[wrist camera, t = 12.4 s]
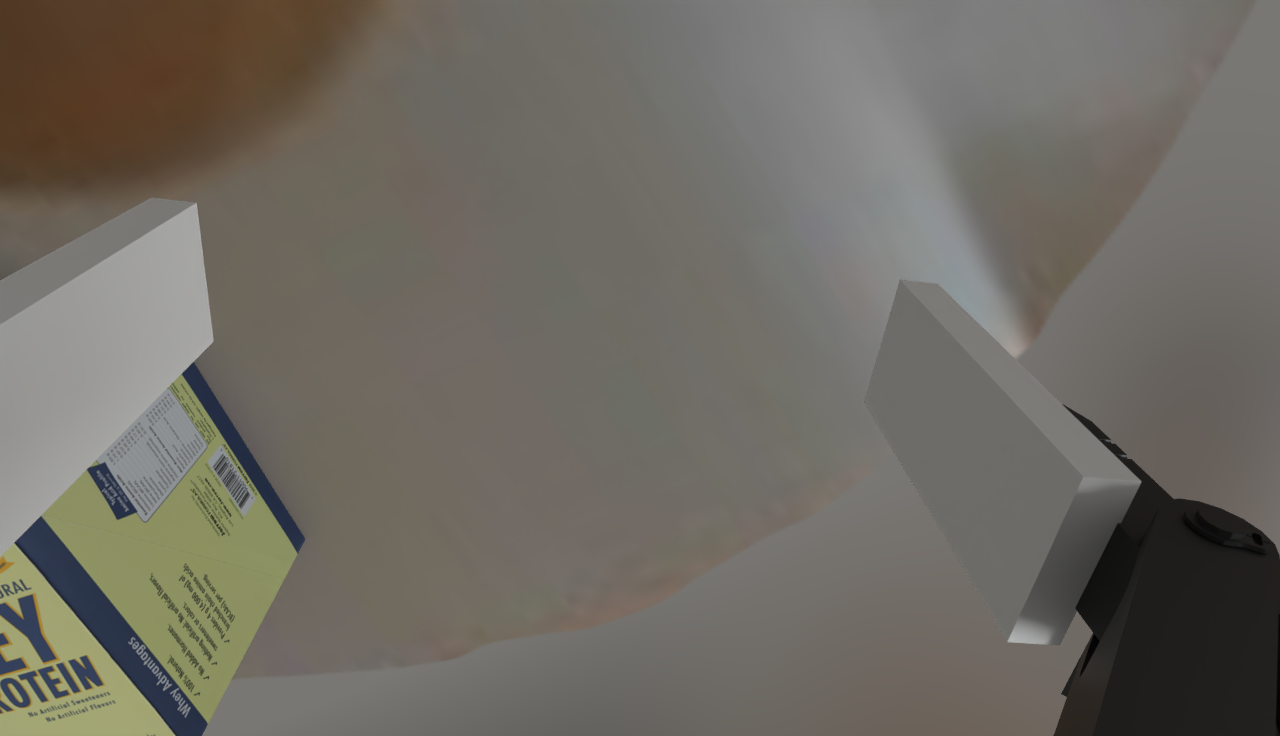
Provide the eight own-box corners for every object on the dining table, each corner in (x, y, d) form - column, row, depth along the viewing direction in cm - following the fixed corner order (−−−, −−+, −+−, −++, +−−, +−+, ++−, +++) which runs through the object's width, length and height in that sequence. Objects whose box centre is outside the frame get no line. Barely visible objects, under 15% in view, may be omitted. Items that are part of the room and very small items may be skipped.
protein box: (163, 583, 51) (-2, 811, 38) (7, 379, 45) (-265, 566, 31) (311, 541, 50) (198, 760, 36) (174, 325, 44) (-30, 494, 30)
